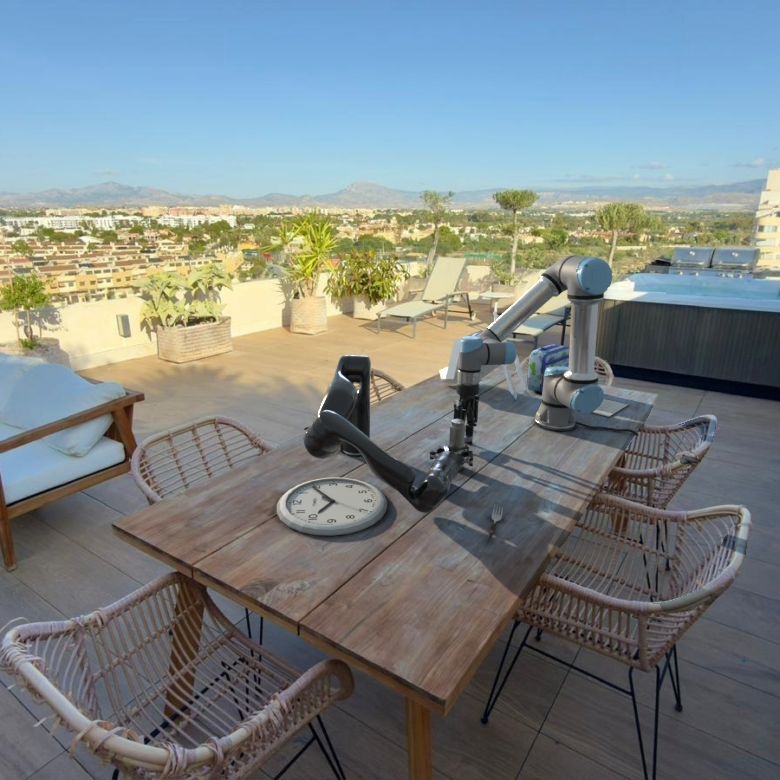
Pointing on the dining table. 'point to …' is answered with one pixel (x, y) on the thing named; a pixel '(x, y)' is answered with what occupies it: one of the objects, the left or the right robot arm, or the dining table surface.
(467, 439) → the lid
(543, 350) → the lunch box
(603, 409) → the invitation card
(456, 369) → the white plastic object
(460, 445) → the jar
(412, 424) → the dining table surface
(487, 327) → the right robot arm
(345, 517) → the wall clock
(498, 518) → the fork
